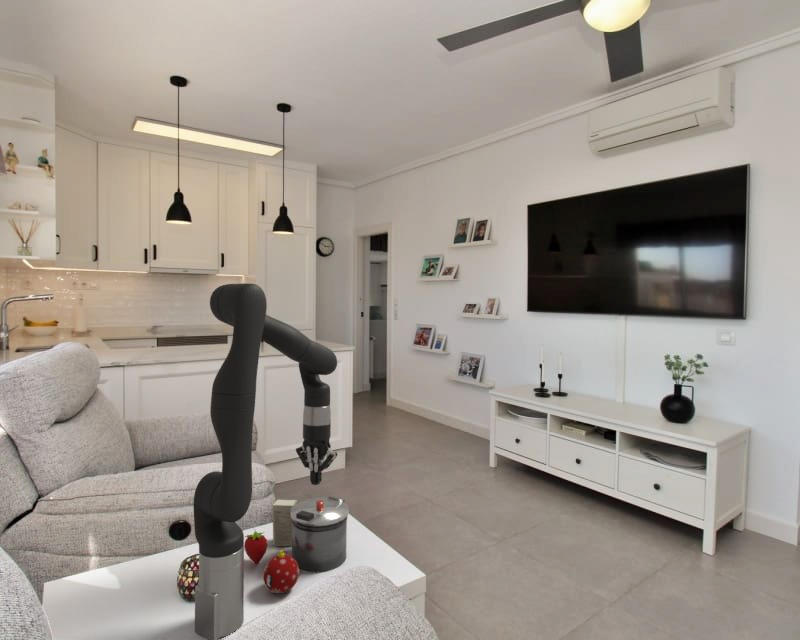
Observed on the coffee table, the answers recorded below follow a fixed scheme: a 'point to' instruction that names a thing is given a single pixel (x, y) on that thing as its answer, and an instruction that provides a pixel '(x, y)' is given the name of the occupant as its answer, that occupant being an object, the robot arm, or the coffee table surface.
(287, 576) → the christmas ornament
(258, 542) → the strawberry
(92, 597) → the coffee table surface
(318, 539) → the cooker pot
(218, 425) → the robot arm
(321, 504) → the cooker lid
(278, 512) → the skincare box
